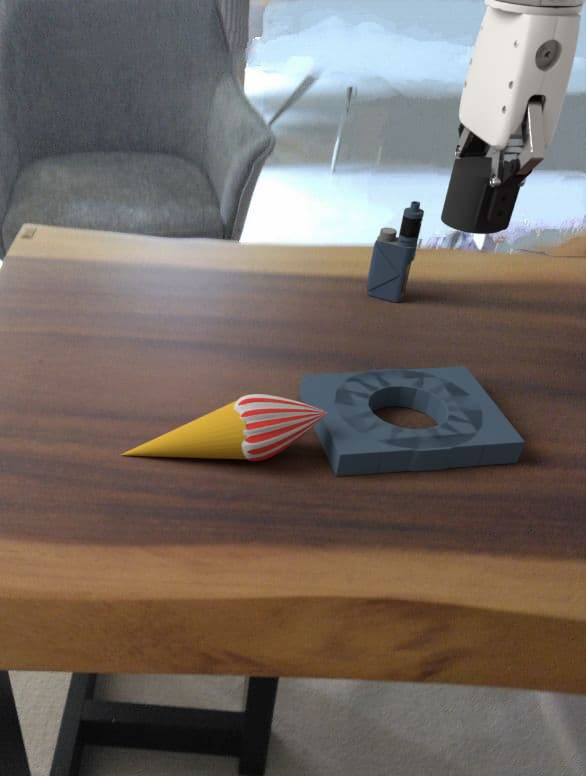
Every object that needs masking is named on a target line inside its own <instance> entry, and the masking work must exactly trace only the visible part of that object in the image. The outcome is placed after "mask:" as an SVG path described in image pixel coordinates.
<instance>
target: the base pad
mask: <svg viewBox="0 0 586 776" xmlns="http://www.w3.org/2000/svg"><path fill="white" fill-rule="evenodd" d="M298 396H299V399H300V400H301V403H304V404H307V405H310V406H312V407H315V408H318V409H320V410H323V411H325V412H328V413H327V414H326V415H325V416H324V417H323V418H322V419H321V420H320V421H319V422H318V423H317V424H316V425H314V426H313V427H312V428H313V429H314V431H315V433H316V435H317V438H318V440H319V442H320V445H321V446H322V449H323V451H324V453H325V455H326V457H327V460H328V462H329V464H330V467H331V468H332V470H333V473H334V475H335V477H345V476H357V475H358V476H359V475H373V474H385V473H386V474H387V473H398V472H411V473H413V472H414V473H418V472H430V471H431V472H432V471H443V470H446V469H452V468H454V469H455V468H466V467H478V466H490V465H491V466H493V465H506V464H517V463H518V461H519V459H520V458H521V457H520V456H521V454H522V451H523V449H524V446H525V444H526V441H525V440H524V439H523V437H522V436H521V435H520V433H519V432H518V431H517V429H516V428H515V427H514V426H513V425H512V423H511V422H510V420H509V419H508V418H507V417H506V415H504V413H503V412H502V411H501V409H500V407H498V405H497V404H496V403H495V401H494V400H493V399H492V398H491V396H490V395H489V394H488V392H487V391H486V390H485V389H484V387H483V386H482V385H481V384H480V382H479V381H478V380H477V379H476V377H475V376H474V374H473V373H472V372H471V371H470V369H469V368H468V367H467V366H466V365H461V366H460V365H457V366H442V367H441V366H440V367H426V368H425V367H423V368H422V367H421V368H405V369H404V368H403V369H400V368H385V369H370V370H368V371H353V372H351V371H350V372H333V373H319V374H318V373H317V374H302V375H301V379H300V386H299V393H298ZM390 407H391V408H392V407H399V408H406V409H412V410H415V411H417V412H419V413H422V414H424V415H427V416H428V417H429V418H431V419H432V420H434V421H435V422H436V423H437V425H434V426H432V427H429V428H416V429H415V428H414V429H413V428H408V427H402V426H397V425H395V424H392V423H390V422H387V421H384V420H383V419H382V418H380V417H379V416H377V415H376V414H375V413H374V412H373V411H377V410H379V409H382V408H390Z"/></svg>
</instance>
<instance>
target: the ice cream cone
mask: <svg viewBox="0 0 586 776" xmlns="http://www.w3.org/2000/svg"><path fill="white" fill-rule="evenodd" d="M327 413H328V412H325V411H323V410H320V409H318V408H315V407H312V406H310V405H307V404H304V403H302V401H301V402H300V401H297V400H293V399H289V398H285V397H281V396H277V395H271V394H262V393H253V394H252V393H251V394H247V395H243V396H241V397H240V398H238V399H237V400H235V401H233V402H231V403H229V404H226V405H224V406H222V407H220V408H218V409H215V410H213V411H211V412H208V413H207V414H205V415H203V416H201V417H198V418H196V419H194V420H192V421H190V422H188V423H186V424H183V425H181V426H179V427H177V428H175V429H173V430H170V431H169V432H166V433H164V434H162V435H160V436H157V437H156V438H153V439H151V440H149V441H147V442H145V443H143V444H141V445H138V446H136V447H134V448H132V449H130V450H128V451H125V452H123V453H122V454H120V456H127V457H128V456H131V457H161V458H190V459H191V458H192V459H193V458H195V459H222V460H223V459H224V460H225V459H227V460H228V459H229V460H248V461H252V462H260V461H264V460H267V459H270V458H271V457H273V456H276V455H278V454H279V453H280V452H283V451H284V450H285V449H287V448H288V447H289V446H291V445H292V444H294V443H296V441H298V440H300V439H301V438H302V437H303V436H304V435H306V434H307V433H308V432H309V431H310V430H311V429H312V428H314V427H313V426H314V425H316V424H317V423H318V422H319V421H320V420H321V419H322V418H323V417H324V416H325V415H326V414H327Z"/></svg>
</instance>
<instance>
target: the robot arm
mask: <svg viewBox="0 0 586 776" xmlns="http://www.w3.org/2000/svg"><path fill="white" fill-rule="evenodd" d="M585 1H586V0H484V3H483V4H484V5H485V6H486V7H487V8H486V10H485V13H484V15H483V19H482V21H481V25H480V28H479V30H478V34H477V36H476V37H477V38H476V41H475V44H474V47H473V51H472V54H471V57H470V61H469V65H468V67H467V72H466V77H465V79H464V84H463V88H462V92H461V98H460V102H459V105H458V118H459V126H458V128H457V132H458V138H459V139H458V141H457V144H456V146H455V150H454V155H455V158H454V162H455V161H456V160H458V159H460V158H464V157H474V156H479V157H487V155H488V153H489V151H490V149H491V148H492V156H491V158H492V165H491V174H490V183H484V187H483V190H482V194H481V197H480V201H479V205H478V208H477V212H476V216H475V219H474V223H473V227H474V229H475V230H477V231H493V230H502V231H505V230H507V229H508V228H509V226H510V222H511V219H512V216H513V214H514V213H513V212H514V211H515V206H516V204H517V200H518V196H519V193H520V190H521V188H522V187H524V186H525V184H526V181H527V178H528V177H529V176H530V175H531V174H532V172H533V170H535V168H536V167H538V166H539V164H541V163H542V162H543V161H544V159H545V157H546V153H547V151H546V149H547V148H549V147H550V145H551V144H552V141H553V139H554V136H555V133H556V129H557V126H558V122H559V119H560V116H561V112H562V110H563V106H564V101H565V98H566V94H567V90H568V86H569V82H570V79H571V74H572V70H573V66H574V60H575V56H576V52H577V45H578V40H579V35H580V27H581V18H582V15H581V14H580V13H582V11H583V7H584V3H585ZM510 140H519V144H518V145H509V144H510V142H509V141H510ZM508 155H510V156H513V155H516V156H515V158H512V159H511V160H510V161H508V162H509V163H508V164H507V165H506V166H505V167H504V160H505V157H506V156H508ZM503 167H504V168H503Z"/></svg>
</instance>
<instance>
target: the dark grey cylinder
mask: <svg viewBox="0 0 586 776" xmlns="http://www.w3.org/2000/svg"><path fill="white" fill-rule="evenodd" d="M457 159H458V160H456V161H455V160H454V162H453V166H452V170H451V174H450V179H449V183H448V187H447V189H446V190H447V191H446V193H445V194H446V195H445V197H444V198H445V199H444V201H443V207H442V211H441V215H440V220H441V222H442V223H443V224H444V225H446V226H447V227H449V228H451V229H453V230H456V231H459V232H463V233H468V234H476V235H491V234H497V233H500V232H503V230H493V231H477V230H475V229H474V227H473V223H474V219H475V216H476V212H477V208H478V205H479V201H480V197H481V194H482V190H483V187H484V183H490V174H491V165H492V156H490V157H489V156H485V157H479V156H474V157H464V158H457ZM509 162H510V161H508V160H505V159H504V167H505V166H506V165H507V164H508V163H509ZM504 167H503V168H504Z"/></svg>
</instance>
